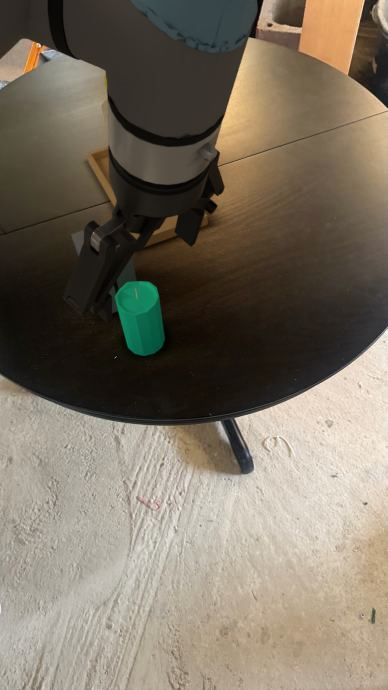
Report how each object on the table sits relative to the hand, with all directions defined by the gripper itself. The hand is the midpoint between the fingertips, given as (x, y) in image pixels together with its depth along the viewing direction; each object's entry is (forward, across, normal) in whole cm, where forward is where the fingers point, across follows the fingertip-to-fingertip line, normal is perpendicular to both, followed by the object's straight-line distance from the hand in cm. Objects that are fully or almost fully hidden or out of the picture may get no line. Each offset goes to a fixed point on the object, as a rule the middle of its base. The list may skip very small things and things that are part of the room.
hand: (144, 274), depth 54 cm
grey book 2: (+24, +5, +8) cm, 26 cm away
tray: (+30, +24, +21) cm, 44 cm away
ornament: (+41, +44, +46) cm, 76 cm away
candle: (+21, 0, -2) cm, 21 cm away
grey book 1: (+24, +1, +9) cm, 26 cm away
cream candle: (+32, +28, +29) cm, 52 cm away
